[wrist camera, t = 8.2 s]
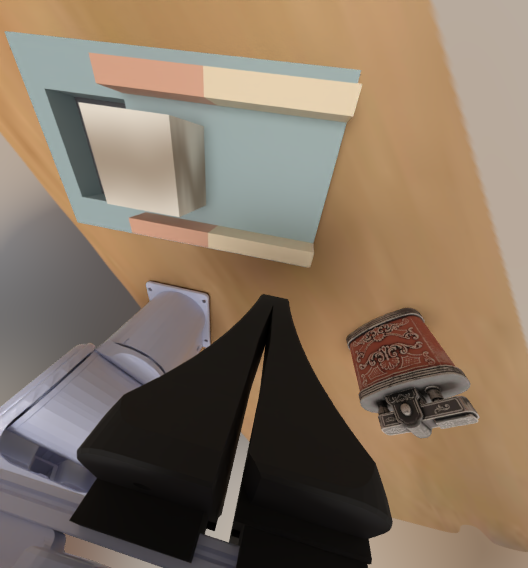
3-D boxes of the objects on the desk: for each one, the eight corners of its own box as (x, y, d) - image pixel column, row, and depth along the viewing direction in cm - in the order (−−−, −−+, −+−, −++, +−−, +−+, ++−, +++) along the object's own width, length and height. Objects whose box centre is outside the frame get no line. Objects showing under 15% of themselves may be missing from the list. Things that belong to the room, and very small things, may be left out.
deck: (306, 255, 19) (306, 278, 15) (100, 216, 21) (55, 228, 17) (352, 85, 13) (371, 53, 9) (47, 49, 15) (-43, 11, 11)
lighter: (357, 352, 25) (382, 450, 16) (340, 336, 24) (358, 431, 15) (427, 322, 21) (509, 432, 12) (409, 301, 20) (484, 404, 11)
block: (206, 205, 16) (179, 217, 13) (148, 194, 16) (107, 203, 13) (203, 126, 13) (168, 114, 10) (134, 116, 14) (78, 101, 10)
